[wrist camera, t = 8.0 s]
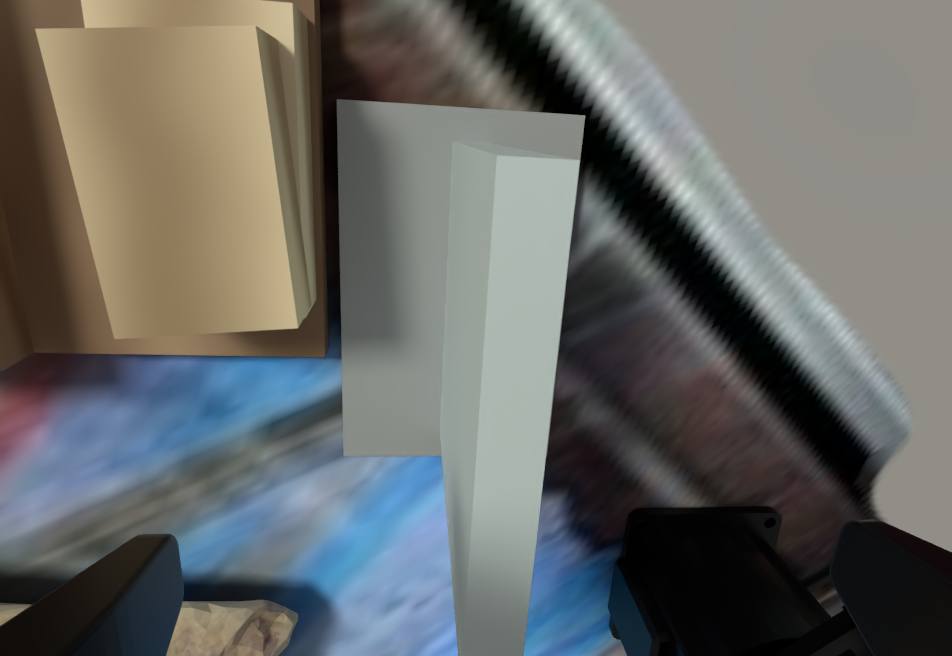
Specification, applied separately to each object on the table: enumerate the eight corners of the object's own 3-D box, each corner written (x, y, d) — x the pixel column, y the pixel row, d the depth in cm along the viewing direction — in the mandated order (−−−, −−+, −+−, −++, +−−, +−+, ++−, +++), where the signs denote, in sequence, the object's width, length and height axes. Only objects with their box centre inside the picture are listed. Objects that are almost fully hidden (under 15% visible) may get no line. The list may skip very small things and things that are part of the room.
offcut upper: (277, 39, 14) (255, 25, 12) (311, 305, 16) (298, 328, 14) (87, 42, 14) (35, 28, 12) (149, 314, 16) (114, 339, 14)
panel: (491, 143, 18) (579, 159, 8) (472, 431, 21) (520, 680, 11) (452, 141, 17) (497, 155, 8) (439, 431, 21) (460, 683, 11)
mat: (579, 115, 18) (585, 115, 18) (543, 446, 22) (547, 455, 21) (339, 100, 17) (336, 98, 17) (345, 447, 21) (343, 455, 21)
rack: (318, -60, 16) (292, -109, 13) (329, 349, 20) (312, 392, 17) (-255, -115, 14) (-455, -188, 11) (-119, 341, 18) (-236, 388, 15)
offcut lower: (307, 18, 16) (292, 2, 14) (316, 299, 18) (305, 318, 16) (120, 3, 15) (78, -16, 13) (157, 294, 18) (127, 314, 16)
